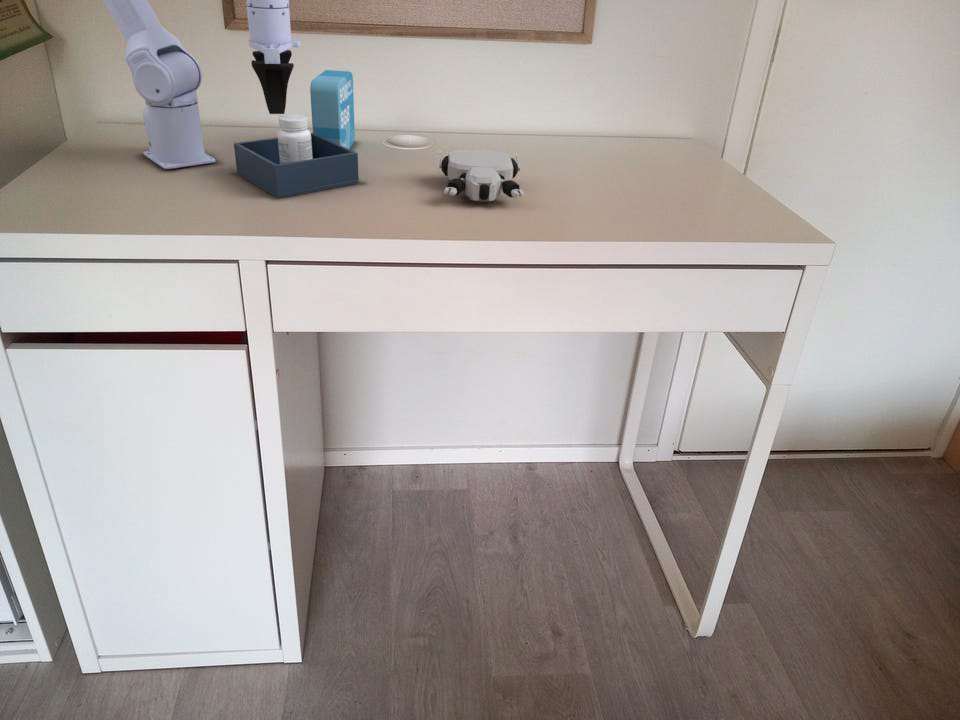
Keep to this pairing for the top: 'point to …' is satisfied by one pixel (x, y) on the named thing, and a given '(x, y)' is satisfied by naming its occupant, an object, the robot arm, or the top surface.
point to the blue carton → (333, 107)
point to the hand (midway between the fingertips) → (276, 107)
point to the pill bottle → (294, 139)
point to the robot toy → (480, 174)
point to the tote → (296, 167)
